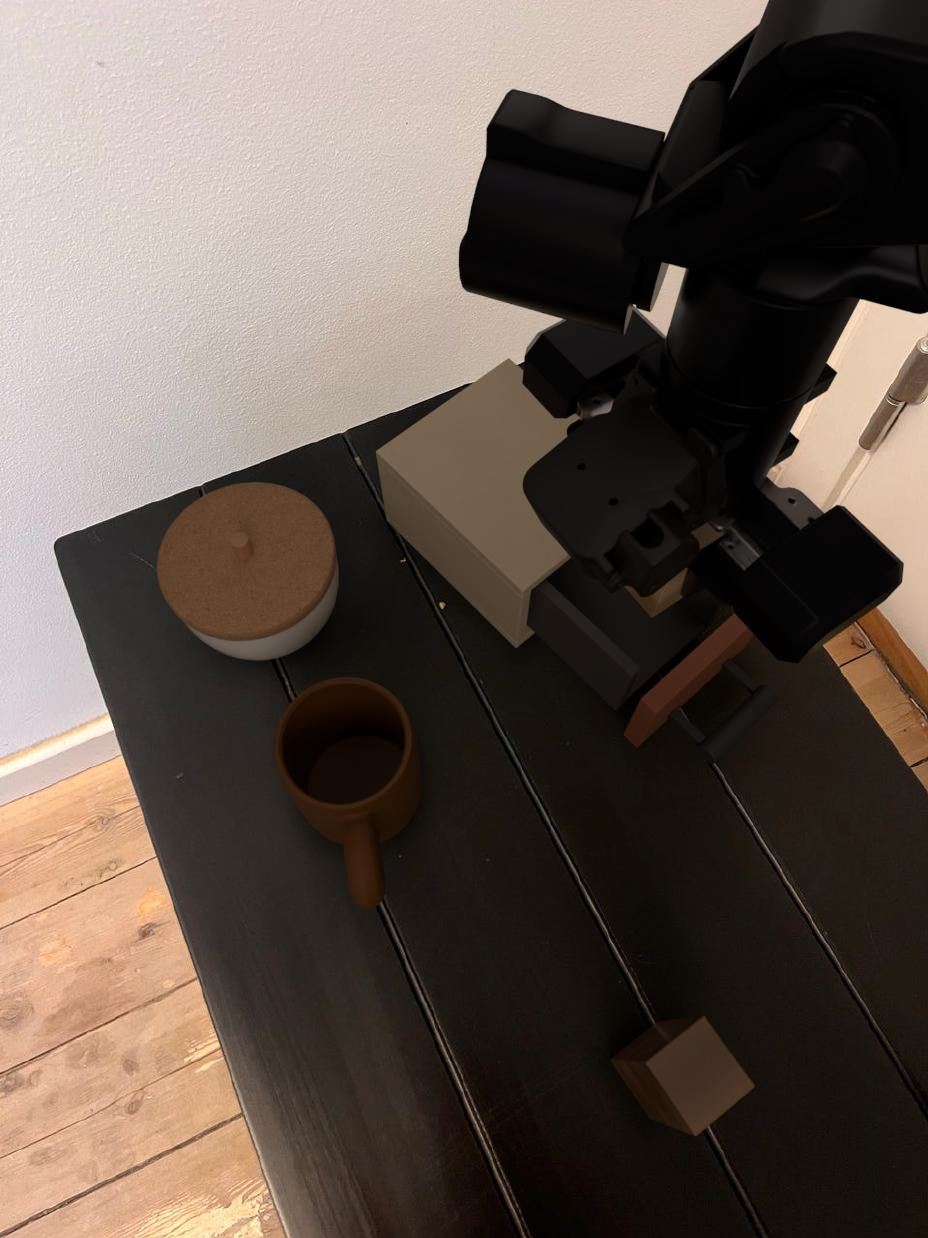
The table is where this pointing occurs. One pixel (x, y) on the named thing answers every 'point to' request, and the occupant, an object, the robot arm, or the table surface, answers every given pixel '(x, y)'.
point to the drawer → (646, 653)
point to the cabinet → (478, 494)
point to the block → (673, 587)
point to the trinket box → (251, 570)
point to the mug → (351, 772)
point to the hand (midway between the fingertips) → (659, 559)
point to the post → (683, 1073)
